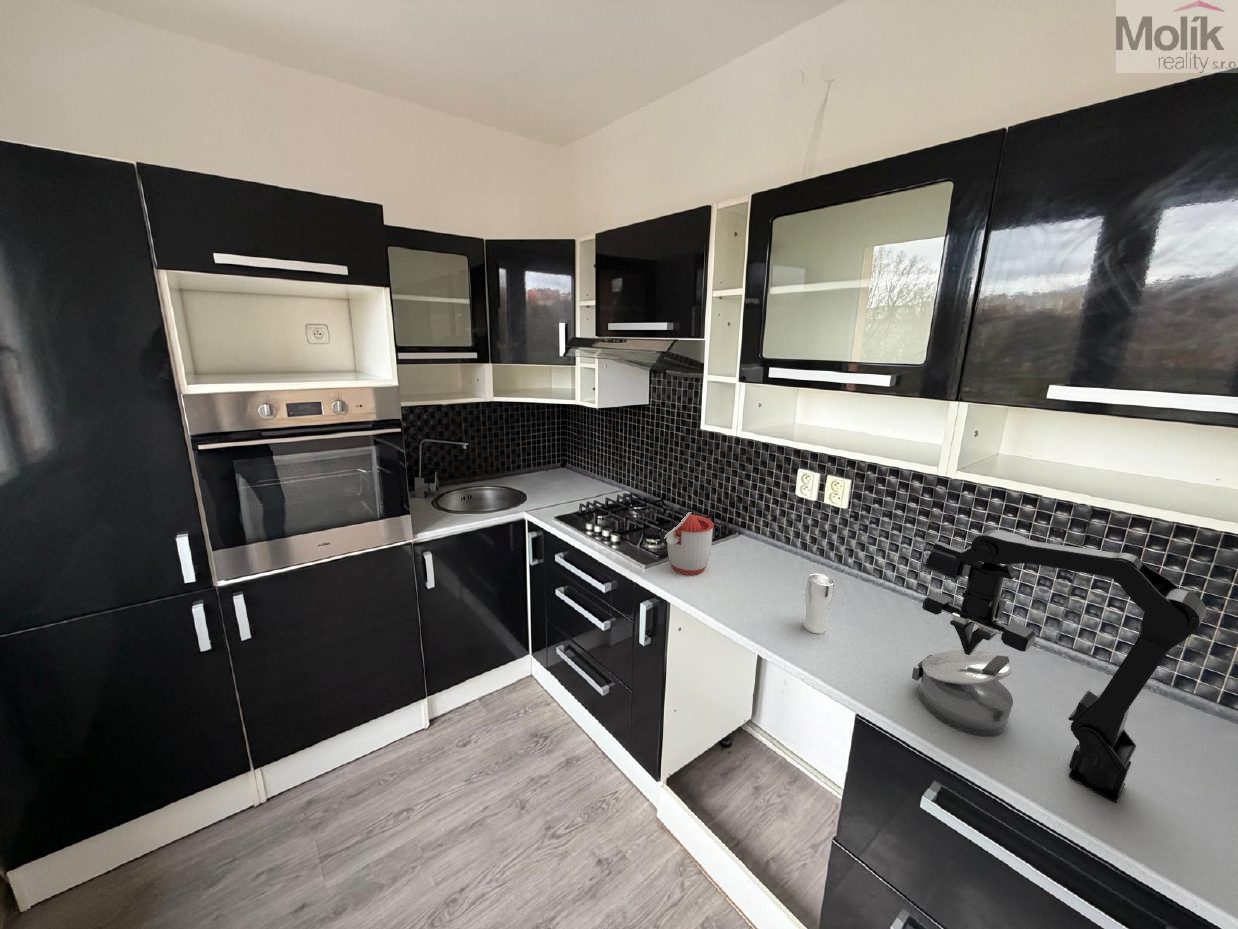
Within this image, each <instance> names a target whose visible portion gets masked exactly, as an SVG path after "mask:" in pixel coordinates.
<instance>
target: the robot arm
mask: <svg viewBox="0 0 1238 929" xmlns="http://www.w3.org/2000/svg"><path fill="white" fill-rule="evenodd" d="M970 544H971V545H970V546H969V547H967V548H964V549H961V548H958V547H954V546H953V545H952V546H951V545H949V544H947V543H945V542H942V541H938V542H936V543H934V544H933V545H934V546H933V549H932V550H931V551H930V553H929V555H928V557H927V558H926V561H925V569H926V570H928V571H930V572H933V573H935V574H937V575H941V576H944V577H946V578H949V579H952V580H954V581H957V580H959V579H960V578H962V579H965V578H966V577H967V581H966V584H965V589H964V591H963V592H962V594H961V597H962V601H961V602H962V603H961V607H960V606H959V605H956V604H954V602H955V600H954V598H953V597H951V596H948V595H946V594H943V593H941V592H939V591H935V592H932V594H929V595H927V597H925V598H924V599H923V602H922V606H921V608H922V610H924V611H926V612H929V613H931V614H933V615H935V616H936V615H940V614H942V613H943V611H945V612H947V613H950V614H952V618H951V620H950V621H949V624H950V625H951V626H952V627H954V629H955V632H956V633H957V635H958V638H959V640H960V643H961V645H962V646H961V647H962V649H963V650H964V653H965V654H967V655H970V654H971V653H972V652H973V651H974V650H976V649H977V647H978V646H979V645H980V643H981V642H982V641H983V640H985V641H991V640H992V639H993V638H994V637H995V636H996V635H998V634H1000V636H1001V637H1000V640H1001V641H1002V643H1003V644H1004V645H1005V646H1007V647H1010V648H1012V649H1014V650H1017V651H1020V652H1023V653H1025V652H1026V651H1027V650H1028V649H1029V648H1031V647H1032V646H1033V645H1034V643H1035V641H1036V638H1037V634H1036V632H1035V630H1034V629H1032V628H1030V627H1027V626H1024V625H1021V624H1019V623H1017V622H1014V621H1012V622H1011V623H1010V624H1008V625H1005V624H1002V623H1001V621H998V620H996V619H998V618H1000V615H1003V612H1004V610H1005V607H1006V604H1007V602H1008V601H1007V600H1005V599H1002V594H1001V593H1002V588H1003V584H1004V580H1005V579H1007V580H1013V579H1015V578H1016V577H1018V576H1019V575H1020V574H1019V573H1020V572H1018V570H1016V568H1014V567H1013V565H1018V564H1028V565H1029V564H1031V565H1036V566H1041V567H1047V568H1054V569H1058V570H1065V571H1070V572H1077V573H1082V574H1086V575H1094V576H1099V577H1106V578H1110V579H1113V580H1114V581H1115V582H1116V583H1117V584H1118V585H1119V586H1120V587H1121V588H1122V590H1123V591H1124V592H1125V593H1126V595H1127V596H1128V597H1129V598H1130V600H1131V601H1132V602H1133V603H1134V604H1135V605H1136V606H1137V607H1138V608H1140V609H1141V611H1143V612H1144V614H1143V616H1142V620H1141V623H1140V625H1139V626H1140V628H1139V632H1138V637H1137V640H1135V642H1134V644H1133V645H1132V647H1131V648H1130V649H1129V651H1128V653H1127V655H1126V656H1125V657H1124V659H1123V661H1122V662H1121V664H1120V665H1119V667H1118V668H1117V669H1116V671H1115V672H1114V675H1113V676H1112V678H1111V679H1110V681H1109V682H1108V683H1107V685H1106V686H1105V688H1104V689H1103V691H1101V692H1100V693H1099V694H1097V695H1095V693H1093V692H1092V691H1091V690H1087V691H1086V692H1085V694H1084V695H1083V697H1082V698H1081V699H1080V700H1079V702H1077V706H1076V707H1075V708H1074V710H1073V711H1072V712H1071V714H1070V715H1069V716H1068V718H1067V720H1068V721H1071V724H1070V731H1071V733H1072V734H1073V736H1074V737H1075V738H1076V740H1077V741H1078V744H1076V746H1075V748H1074V750H1073V752H1072V755H1071V759H1070V762H1069V764H1068V768H1069V769H1070V771H1069V773H1068V777H1069V778H1070V779H1071V780H1074V781H1075V782H1076V783H1079V784H1081V785H1083V786H1084V787H1086V788H1088V789H1090V790H1091V791H1093V792H1095V793H1096V794H1099V795H1100V796H1102V797H1103V798H1106V799H1107V800H1109V801H1111V802H1112V803H1115V804H1116V803H1118V801H1119V799H1120V797H1121V795H1122V793H1123V790H1124V789H1125V786H1126V783H1125V781H1126V779H1127V777H1128V774H1129V770H1130V768H1131V766H1132V765H1131V764H1132V762H1131V761H1130V760H1131V758H1132V756H1133V754H1134V752H1135V750H1136V749H1137V744H1136V743H1135V741H1134V740H1133V739H1132V737H1130V735H1129V734H1128V733H1127V731H1126V730H1125V726H1126V723H1127V720H1128V716H1129V710H1130V707H1131V705H1132V704H1133V702H1134V701H1135V700H1136V699H1137V697H1138V696H1139V694H1140V692H1141V691H1142V690H1143V688H1144V687H1145V686H1146V684H1147V682H1148V681H1149V680H1150V678H1151V677H1152V675H1153V674H1154V672H1155V671H1156V670H1157V668H1158V667H1159V666H1160V664H1161V663H1162V661H1163V660H1164V658H1165V657H1166V655H1167V654H1168V653H1169V652H1170V651H1172V650H1173V649H1175V648H1176V647H1177V646H1179V645H1181V643H1183V642H1184V641H1185V640H1187V639H1188V638H1189V637H1190V636H1191V635H1192V634H1194V633H1195V632H1196V631H1197V630H1198V629H1199V628H1200V626H1201V623H1202V621H1203V619H1205V617H1206V614H1207V606H1206V605H1205V603H1204V602H1203V600H1202V599H1201V598H1200V597H1199V596H1197V595H1196V594H1195V593H1192V592H1190V591H1188V590H1185V589H1182V588H1181V587H1179V585H1177V584H1176V583H1174V582H1173V581H1172V580H1171V579H1169V578H1168V577H1166V576H1165V575H1163V574H1162V573H1160V572H1158V571H1156V570H1155V569H1153V568H1152V567H1150V566H1148V565H1147V563H1145V562H1144V561H1143V560H1142V559H1140V558H1139V557H1138V556H1136V555H1134V554H1132V553H1128V552H1112V551H1103V550H1098V549H1091V548H1083V547H1076V546H1070V545H1063V544H1058V543H1057V544H1055V543H1049V542H1041V541H1036V540H1033V539H1029V538H1027V537H1025V536H1022V535H1021V534H1020V535H1019V534H1016V533H1014V532H1009V531H1007V530H1004V529H1003V530H1002V529H996V528H995V529H990V530H987V531H986V532H984V533H982V534H979V535H978V536H977V537H975V538H973V540H972V541H971V543H970ZM975 625H977V628H975V629H974V627H975Z"/></svg>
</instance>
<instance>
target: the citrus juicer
mask: <svg viewBox="0 0 1238 929" xmlns="http://www.w3.org/2000/svg"><path fill="white" fill-rule="evenodd" d="M714 527H715V526H714V522H713V521H712V520H711V519H709V518H707V517H705V516H702V515H697V514H692V513H689V514H688V515H687V517H686V518H685V519H684V520H683V521H682V523H681V524H680V525H679V526H678V527H677V528H675V529H674V530H673V531H672V532H670V533H669V534H668V535H667V536H666V538H665V539H666V543H667V555H668V560H669V564H670V566H671V569H672V570H673V571H675V572H677V573H679V574H681V575H682V574H683V575H685V576H691V575H699V574H701V573H703V572H704V571H705V569H706V568H707V566H708V564H709V560H710V559H711V552H712V544H713V543H712V542H713V530H714V529H713V528H714Z"/></svg>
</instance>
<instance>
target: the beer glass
mask: <svg viewBox="0 0 1238 929" xmlns="http://www.w3.org/2000/svg"><path fill="white" fill-rule="evenodd" d="M805 586H806V587H805V612H806V613H805V618H804V621H803V623H802V627H803V628H804V629H805V630H806V631H807V632H809V633H812V634H815V635H822V634H824V633H826V632H827V630H828V628H827V618H828V614H829V611H830V609H831V606H832V603H833V599H834V593H835V591H834V590H835V580H834V578H832V577H831V576H829V575H827V574H823V573H812V574H811V573H810V574H809V575H808V579H807V583H806V585H805Z"/></svg>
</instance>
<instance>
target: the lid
mask: <svg viewBox="0 0 1238 929" xmlns="http://www.w3.org/2000/svg"><path fill="white" fill-rule="evenodd" d="M927 656H928V657H927ZM927 656H926V657H927V658H926V657H925V658H924V660H923V659H922V660H923V661H922V660H920V661H919V662H918V663H919V664H918V663H917V664H918V666H919V667H920V668H923V671H924V673H925V674H926V675H927V676H929V677H931V678H933V679H935V680H938V681H942V682H947V683H953V684H983V683H990V682H994V681H1000V680H1003V679H1005V678H1007V677H1008V676H1010V675H1011V674H1012V671H1013V668H1012V664H1011V662H1010V658H1009V656H1007V655H1006V656H1005V655H1000V654H997V653H994V652H990V651H984V650H976V649H975V650H974V651H973V652H972V653H971V654H970V655H967V654H965V653H964V650H961V649H959V650H948V651H944V652H939V653H936V654H929V655H927Z"/></svg>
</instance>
